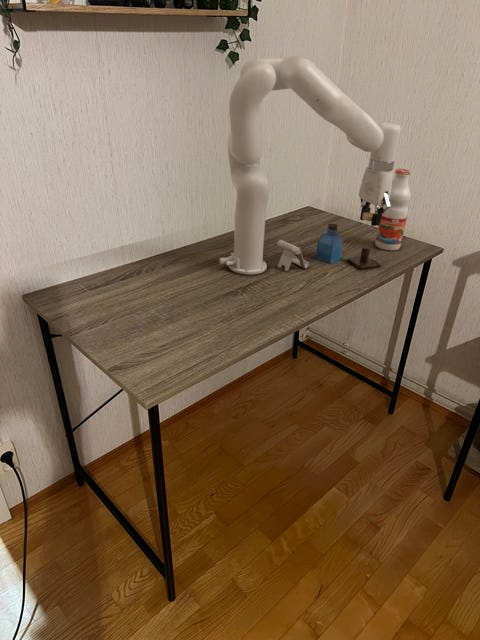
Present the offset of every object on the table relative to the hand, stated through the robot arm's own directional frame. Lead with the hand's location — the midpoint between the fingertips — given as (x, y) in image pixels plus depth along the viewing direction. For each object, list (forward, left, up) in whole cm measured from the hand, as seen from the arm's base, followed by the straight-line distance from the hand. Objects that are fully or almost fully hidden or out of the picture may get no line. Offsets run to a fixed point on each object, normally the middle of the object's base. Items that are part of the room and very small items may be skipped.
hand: (369, 221), depth 161 cm
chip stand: (0, 0, -15) cm, 15 cm away
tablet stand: (-25, +6, -15) cm, 30 cm away
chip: (0, 0, +1) cm, 1 cm away
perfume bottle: (-9, +8, -15) cm, 19 cm away
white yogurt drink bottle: (+19, +11, -15) cm, 27 cm away
